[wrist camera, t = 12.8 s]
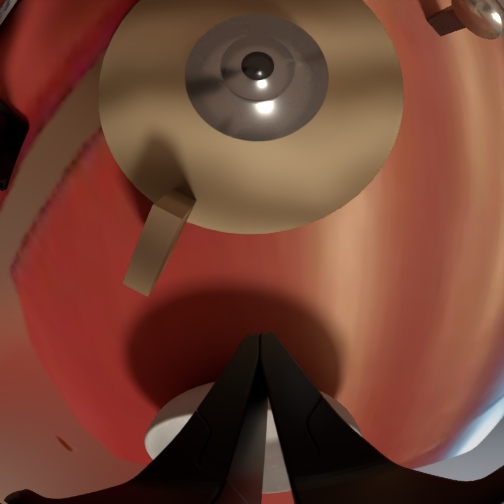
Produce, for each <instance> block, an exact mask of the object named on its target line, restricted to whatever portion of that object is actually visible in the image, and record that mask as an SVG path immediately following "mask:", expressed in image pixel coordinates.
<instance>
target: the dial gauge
mask: <svg viewBox="0 0 504 504" xmlns="http://www.w3.org/2000/svg"><path fill="white" fill-rule="evenodd" d="M451 4H452V5H451V6H449V7H447V8H445V9H443V10H441V11H439V12H437V13H435V14H434V15H433V16H432V17H431V18H430V19H428V20H427V21H428V22H429V23H430V25H431V26H432V27H433V28H434V29H435V30H436V31H437V32H438V34H439V35H440V36H443V35H446V34H449V33H452V32H454V31H457V30H460V29H463V28H467V29H468V30H470V31H471V32H472V33H474V34H476V35H477V36H479V37H481V38H484V39H489V40H493V39H496V38H498V37H499V36H500V35H501V33H502V32H503V30H504V13H503V11H504V9H503V7H502V6H501V4H500V3H499V2H498V1H497V0H451Z"/></svg>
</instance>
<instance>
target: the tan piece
mask: <svg viewBox="0 0 504 504" xmlns="http://www.w3.org/2000/svg"><path fill="white" fill-rule="evenodd" d="M246 14H267V15H273V16H277V17H280V18H283V19H286V20H288V21H290V22H293V23H295V24H296V25H298V26H299V27H301V28H302V29H304V30H305V31H306V32H307V33H308V34H309V35H310V36H311V37H312V38H313V39H314V40H315V41H316V43H317V44H318V45H319V47H320V48H321V50H322V52H323V54H324V57H325V59H326V62H327V67H328V72H329V84H328V90H327V94H326V98H325V100H324V102H323V105H322V106H321V108H320V110H319V111H318V113H317V114H316V115H315V116H314V118H313V119H312V120H311V121H310V122H309V123H308V124H306V125H305V126H304V127H302V128H301V129H300V130H298V131H296V132H294V133H292V134H290V135H288V136H285V137H283V138H279V139H275V140H270V141H245V140H240V139H235V138H233V137H230V136H227V135H225V134H223V133H221V132H219V131H217V130H215V129H214V128H212V127H211V126H210V125H208V124H207V123H206V122H205V121H204V120H203V119H202V118H201V117H200V116H199V115H198V113H197V112H196V111H195V109H194V108H193V106H192V104H191V102H190V100H189V97H188V94H187V91H186V85H185V70H186V64H187V61H188V57H189V55H190V53H191V51H192V49H193V47H194V46H195V44H196V43H197V41H198V40H199V39H200V38H201V37H202V35H204V34H205V33H206V32H207V31H208V30H209V29H211V28H212V27H213V26H215V25H216V24H218V23H220V22H222V21H224V20H227V19H229V18H232V17H236V16H240V15H246ZM98 101H99V113H100V120H101V125H102V129H103V132H104V135H105V138H106V141H107V144H108V146H109V148H110V150H111V153H112V155H113V157H114V159H115V161H116V162H117V164H118V165H119V167H120V168H121V170H122V171H123V173H124V174H125V175H126V177H127V178H128V179H129V180H130V181H131V182H132V183H133V185H134V186H135V187H136V188H137V189H138V190H139V191H140V192H141V193H142V194H144V195H145V196H146V197H147V198H148V199H149V200H151V201H152V202H153V203H154V204H153V206H152V208H151V210H150V213H149V215H148V218H147V220H146V222H145V225H144V227H143V230H142V232H141V235H140V238H139V240H138V243H137V245H136V248H135V251H134V253H133V256H132V259H131V262H130V264H129V267H128V270H127V273H126V276H125V279H124V282H123V284H124V285H126V286H128V287H130V288H132V289H134V290H135V291H137V292H139V293H141V294H143V295H145V296H147V297H148V296H149V294H150V292H151V290H152V289H153V287H154V285H155V283H156V282H157V280H158V278H159V277H160V275H161V273H162V271H163V270H164V268H165V266H166V264H167V262H168V260H169V257H170V255H171V253H172V251H173V249H174V247H175V244H176V242H177V240H178V238H179V236H180V234H181V232H182V230H183V228H184V225H185V223H186V222H189V223H192V224H195V225H198V226H201V227H204V228H207V229H212V230H217V231H221V232H227V233H238V234H266V233H273V232H279V231H286V230H290V229H293V228H297V227H300V226H304V225H307V224H309V223H312V222H314V221H317V220H319V219H321V218H324V217H326V216H327V215H329V214H331V213H333V212H334V211H336V210H338V209H340V208H341V207H343V206H344V205H345V204H347V203H348V202H349V201H351V200H352V199H353V198H355V197H356V196H357V195H358V194H359V193H360V192H361V191H362V190H363V189H364V188H365V187H366V186H367V185H368V184H369V183H370V182H371V181H372V180H373V178H374V177H375V176H376V174H377V173H378V172H379V171H380V169H381V168H382V166H383V165H384V163H385V161H386V159H387V158H388V156H389V154H390V152H391V150H392V148H393V145H394V143H395V140H396V138H397V135H398V132H399V128H400V124H401V119H402V113H403V102H404V91H403V78H402V73H401V68H400V63H399V60H398V57H397V54H396V51H395V48H394V46H393V43H392V41H391V39H390V38H389V36H388V34H387V32H386V30H385V28H384V27H383V25H382V24H381V22H380V21H379V19H378V18H377V17H376V15H375V14H374V13H373V11H372V10H371V9H370V8H369V7H368V6H367V5H366V4H365V3H364V2H363V1H362V0H140V1H139V2H138V3H137V4H136V5H135V6H134V7H133V8H132V9H131V11H130V12H129V13H128V14H127V16H126V17H125V18H124V20H123V21H122V22H121V24H120V25H119V27H118V29H117V30H116V32H115V34H114V36H113V37H112V39H111V42H110V44H109V46H108V49H107V51H106V54H105V57H104V60H103V64H102V68H101V72H100V79H99V88H98Z"/></svg>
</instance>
